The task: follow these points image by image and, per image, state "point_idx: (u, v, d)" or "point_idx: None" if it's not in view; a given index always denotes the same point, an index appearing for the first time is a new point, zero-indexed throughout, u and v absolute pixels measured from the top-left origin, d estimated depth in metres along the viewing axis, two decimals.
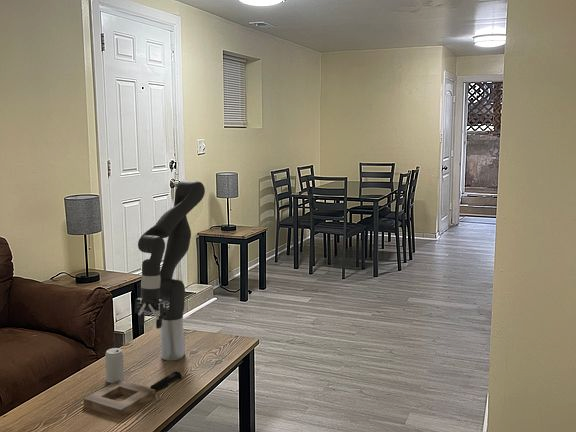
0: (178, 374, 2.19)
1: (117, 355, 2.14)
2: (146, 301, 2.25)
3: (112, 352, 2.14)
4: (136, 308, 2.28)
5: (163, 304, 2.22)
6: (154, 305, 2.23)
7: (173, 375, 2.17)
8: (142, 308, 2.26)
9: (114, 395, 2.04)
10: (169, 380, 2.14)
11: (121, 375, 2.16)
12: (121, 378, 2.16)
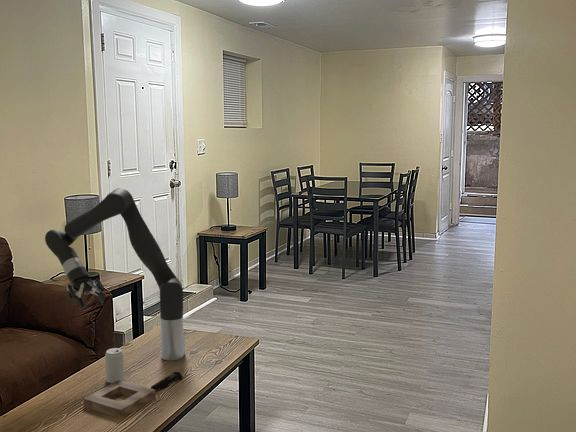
0: (179, 374, 2.19)
1: (117, 355, 2.14)
2: None
3: (112, 352, 2.14)
4: None
5: (66, 288, 2.22)
6: None
7: (174, 375, 2.17)
8: None
9: (114, 395, 2.04)
10: (170, 380, 2.14)
11: (121, 375, 2.16)
12: (121, 378, 2.16)
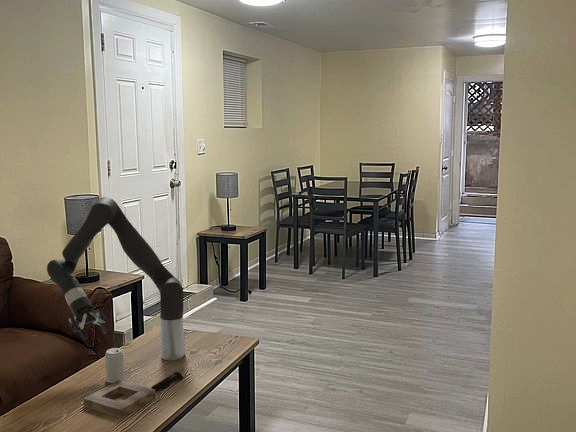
0: (179, 375, 2.18)
1: (117, 355, 2.14)
2: None
3: (112, 352, 2.14)
4: None
5: (69, 319, 2.20)
6: None
7: (174, 376, 2.17)
8: None
9: (114, 395, 2.04)
10: (170, 381, 2.14)
11: (121, 375, 2.16)
12: (121, 378, 2.16)
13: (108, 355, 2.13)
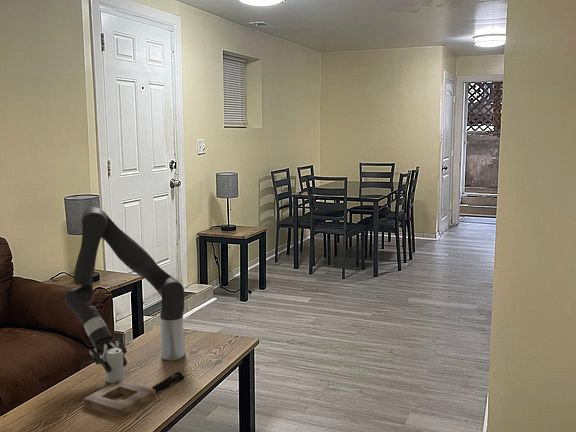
0: (180, 375, 2.18)
1: (117, 355, 2.14)
2: None
3: (112, 352, 2.14)
4: None
5: (90, 352, 2.14)
6: None
7: (175, 376, 2.17)
8: None
9: (114, 395, 2.04)
10: (171, 381, 2.14)
11: (121, 375, 2.16)
12: (121, 378, 2.16)
13: (108, 355, 2.13)
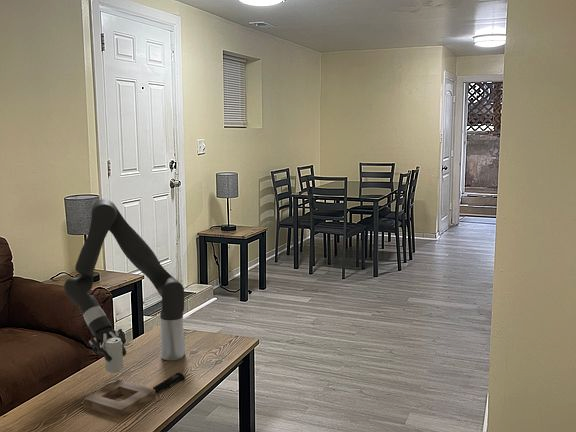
0: (181, 375, 2.18)
1: (116, 345, 2.13)
2: None
3: (111, 341, 2.13)
4: None
5: (89, 342, 2.13)
6: None
7: (176, 376, 2.17)
8: None
9: (114, 395, 2.04)
10: (172, 381, 2.13)
11: (120, 364, 2.15)
12: (120, 367, 2.15)
13: (107, 344, 2.13)
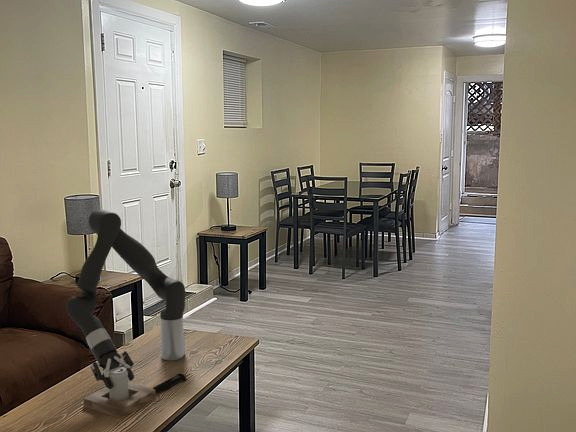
0: (182, 376, 2.17)
1: (122, 375, 1.97)
2: None
3: (116, 371, 1.97)
4: None
5: (91, 366, 1.97)
6: None
7: (177, 377, 2.16)
8: None
9: None
10: (172, 382, 2.13)
11: (126, 396, 1.99)
12: None
13: (112, 375, 1.96)
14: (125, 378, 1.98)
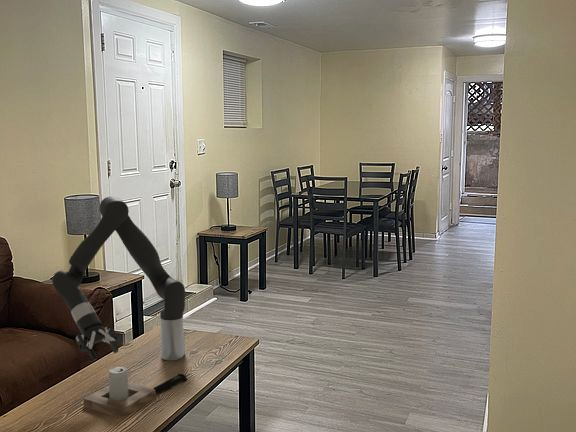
0: (183, 376, 2.17)
1: (122, 375, 1.97)
2: None
3: (116, 371, 1.97)
4: None
5: (76, 338, 2.01)
6: None
7: (177, 377, 2.16)
8: None
9: None
10: (173, 382, 2.13)
11: (126, 396, 1.99)
12: None
13: (112, 375, 1.96)
14: (125, 378, 1.98)
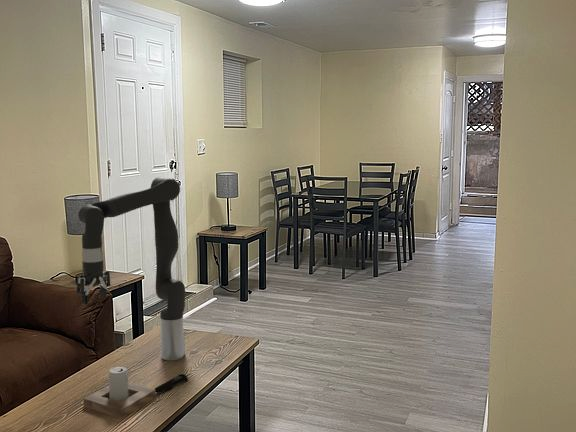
0: (184, 377, 2.16)
1: (122, 375, 1.97)
2: None
3: (116, 371, 1.97)
4: None
5: (78, 279, 2.08)
6: None
7: (178, 378, 2.15)
8: None
9: None
10: (174, 383, 2.12)
11: (126, 396, 1.99)
12: None
13: (112, 375, 1.96)
14: (125, 378, 1.98)
